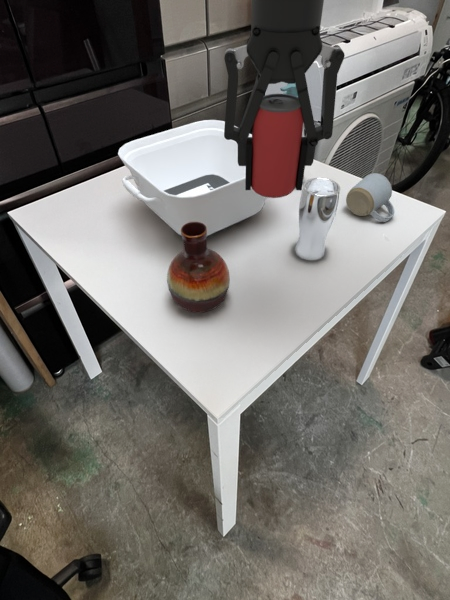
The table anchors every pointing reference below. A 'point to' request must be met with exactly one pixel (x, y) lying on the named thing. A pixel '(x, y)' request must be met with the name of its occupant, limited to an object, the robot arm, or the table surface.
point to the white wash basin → (191, 176)
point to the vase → (197, 272)
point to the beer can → (276, 145)
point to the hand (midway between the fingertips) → (272, 185)
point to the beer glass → (316, 216)
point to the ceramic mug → (371, 197)
